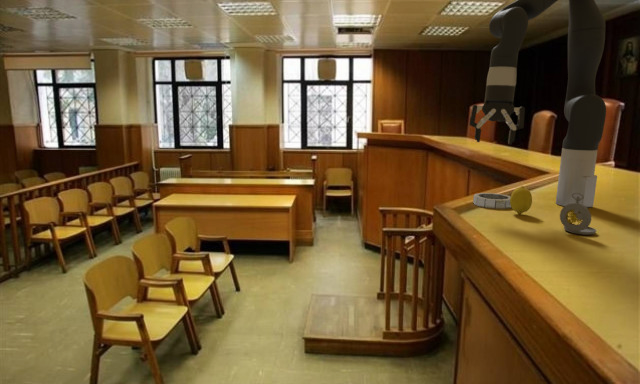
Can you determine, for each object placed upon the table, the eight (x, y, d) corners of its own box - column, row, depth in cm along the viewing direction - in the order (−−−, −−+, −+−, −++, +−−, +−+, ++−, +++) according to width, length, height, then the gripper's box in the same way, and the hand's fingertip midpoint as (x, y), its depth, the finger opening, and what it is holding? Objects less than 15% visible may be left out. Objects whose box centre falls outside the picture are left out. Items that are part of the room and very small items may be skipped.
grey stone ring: (519, 206, 132) (520, 198, 131) (496, 210, 126) (496, 201, 126) (489, 199, 141) (490, 191, 140) (465, 202, 135) (466, 194, 135)
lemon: (529, 218, 118) (532, 188, 116) (507, 215, 120) (510, 186, 119) (531, 213, 122) (534, 185, 121) (510, 211, 125) (513, 183, 124)
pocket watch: (591, 230, 107) (597, 189, 105) (601, 239, 99) (607, 196, 97) (554, 226, 109) (559, 187, 107) (560, 235, 102) (565, 193, 100)
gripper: (525, 86, 124) (518, 143, 127) (472, 84, 127) (466, 140, 130) (531, 84, 117) (522, 145, 120) (475, 82, 120) (468, 141, 123)
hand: (493, 142), depth 125 cm, fingers open, 8 cm apart
